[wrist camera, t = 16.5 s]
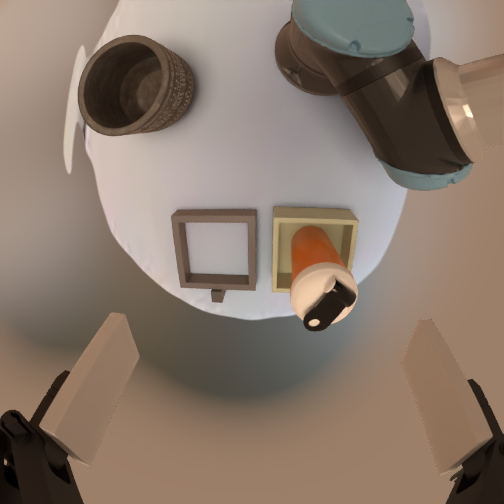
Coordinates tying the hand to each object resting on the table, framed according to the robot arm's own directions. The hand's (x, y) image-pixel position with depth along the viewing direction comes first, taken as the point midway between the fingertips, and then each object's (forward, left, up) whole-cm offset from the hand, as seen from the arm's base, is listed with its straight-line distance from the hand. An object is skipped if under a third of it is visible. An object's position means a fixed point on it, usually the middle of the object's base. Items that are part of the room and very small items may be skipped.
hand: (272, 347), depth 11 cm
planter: (-16, -19, -39) cm, 46 cm away
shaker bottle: (+12, +7, -38) cm, 41 cm away
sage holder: (+12, +7, -39) cm, 41 cm away
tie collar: (+14, -10, -39) cm, 42 cm away
